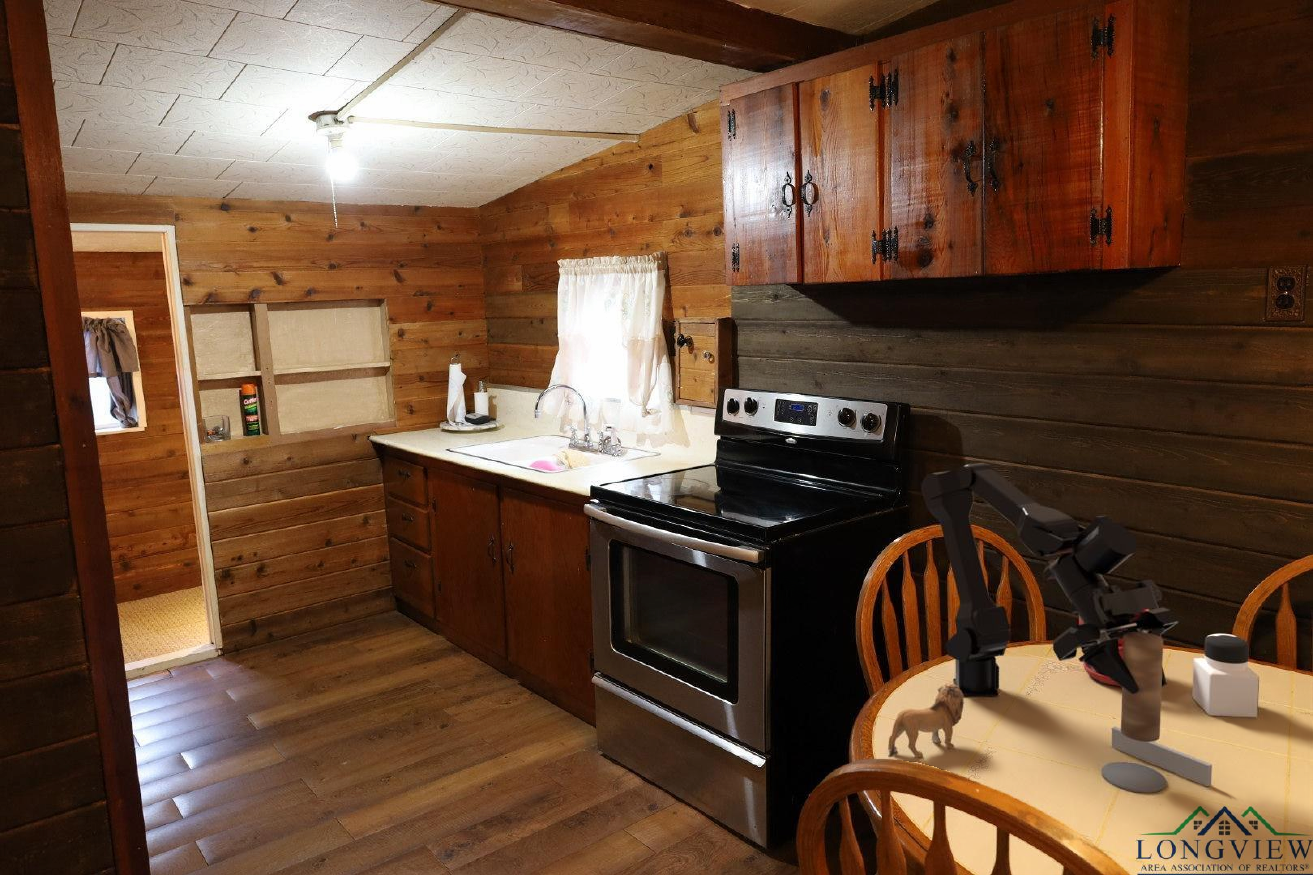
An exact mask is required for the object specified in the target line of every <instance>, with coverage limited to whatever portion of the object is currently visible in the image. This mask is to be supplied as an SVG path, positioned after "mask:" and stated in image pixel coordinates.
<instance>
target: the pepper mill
mask: <svg viewBox="0 0 1313 875" xmlns="http://www.w3.org/2000/svg"><path fill="white" fill-rule="evenodd" d="M1163 656H1164V639H1163V638H1162V636H1161V637H1159V636H1157V635H1154V634H1150V633H1143V632H1130V633H1126V634H1124V645H1123V661H1124V663H1125V664H1126V666H1127V668H1128V670H1129V671H1130V673H1131V675H1132V676H1133V678H1134V680H1135V682H1136V684H1137V686H1138V688H1139V692H1137V693H1136V694H1132V693H1131V692H1129V691H1128V690H1126V689H1125V688H1123V687H1122V686H1121V715H1120V716H1121V717H1120V720H1121V721H1120V729H1121V733H1122V734H1123V735H1125V736H1126V737H1128V738H1130V739H1133V740H1137V741H1143V742H1152V741H1153V742H1156V741H1158V740H1159V739H1160V734H1161V733H1160V732H1161V712H1162V710H1161V709H1162V688H1163V687H1162V667H1163V663H1164V662H1163Z"/></svg>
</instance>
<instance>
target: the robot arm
mask: <svg viewBox="0 0 1313 875" xmlns="http://www.w3.org/2000/svg"><path fill="white" fill-rule="evenodd" d="M920 492H921V495H922V497H923V499H924V500H923V501H924V503H925V505H926V508H927V510H928V511H929V513H930V514H931V515H932V517H934V518H935V519H936V520H937V521H938V522H939V524H940V526H941V530H942V535H943V539H944V544H945V548H946V552H947V556H948V559H949V563H950V567H951V571H952V576H953V579H954V583H955V587H956V591H957V595H958V599H959V606H958V609H957V613H956V616H955V619H954V622H955V628H956V632H955V634H953V635H952V636H951V637H950V638H949V639H948V640H947V641H946V642H945V645H944V646H945V649H946V653H947V656H948V657H950V658H953V659H954V660H955V678H953V679H952V682H953V684H955V685H957V686H959V688H960V690H961V691H962V694H963V697H964V696H965V697H966V696H969V697H970V696H971V697H972V696H973V697H974V696H977V697H978V696H980V697H982V696H983V697H998V696H999V691H998V690H999V689H1000V666H999V664H998V663H997V658H996V657H1003V656H1004V655H1005V653H1006V649H1007V646H1008V644H1009V642H1010V641H1011V631H1010V630H1012V626H1011V624H1010V622H1009V619H1008V615H1007V614H1008V613H1007V610H1006V608H1005V607H1004V606H1003V605H1001V606H998V605H997V604H996V603H995V602H994V601H993V599H992V598H990V595H989V591H988V590H989V589H988V586H987V582H986V578H985V575H984V571H983V567H982V563H981V559H980V556H979V551H978V548H977V544H976V540H975V535H974V532H973V528H972V524H971V521H970V514H971V511H972V508H973V505H974V501H975V500H974V493H975V494H976V495H977V496H978V497H979V498H981V499H982V500H983V501H984V502H986V503H987V504H988V505H989V506H990V507H992V508H993V509H994V510H995V511H996V512H998V514H1000V515H1001V516H1002V517H1004V518H1005V519H1006V520H1007V521H1009V523H1011V524H1012V525H1013V526H1014V527H1015V529H1016V533H1017V537H1018V539H1019V540H1020V541H1021V543H1023V545H1024V546H1025V547H1026V548H1027V549H1028V550H1029V551H1030V553H1031V554H1033V555H1034V556H1037V557H1046V556H1047V557H1048V556H1052V555H1059V554H1061V555H1060V556H1059V557H1058V558H1057V559H1056V560H1055V559H1054V560H1048V561H1045V564H1044V565H1045V568H1044V570H1043V573H1042V579H1043V580H1045V581H1047V580H1054V579H1056V581H1057V582H1058V584H1059V585H1060V588H1061V589H1062V591H1063V592H1064V594H1065V595H1066V597H1067V598H1068V600H1069V602H1070V603H1071V605H1069V606H1068V607H1067V609H1068V612H1069V613H1070V615H1073V614H1078V617H1079V616H1080V618H1081V619H1082V621H1083V623H1084V624H1081V625H1079V624H1078V625H1072V626H1069V627H1068V628H1066V630H1065V631H1063V633H1060V635H1058V636H1057V637H1056V638H1055V639H1053V640H1052V641H1053V642H1052V650H1053V652H1054V654H1055V656H1056V657H1057V659H1058V661H1060V662H1061V661H1062V662H1063V661H1066V660H1071V659H1074V658H1075V657H1077V653H1078V650H1077V649H1081V652H1082V656H1080V657H1078V661H1079V663H1083V662H1086V663H1087V664H1089V665H1091V666H1092V667H1094V668H1096V669H1097V670H1099V671H1100V672H1102V673H1104V674H1105V675H1107V676H1108V677H1109V678H1111V679H1112V680H1114V681H1115V682H1116V683H1118V684H1119V685H1121V686H1120V687H1121V688H1122V687H1123V688H1125V689H1126V690H1128V691H1129V692H1131V693H1132V694H1136V693H1137V692H1139V688H1138V686H1137V684H1136V682H1135V680H1134V678H1133V676H1132V675H1131V673H1130V671H1129V670H1128V668H1127V666H1126V664H1125V663H1124V661H1123V659H1122V657H1121V656H1120V654H1119V646H1118V639H1121V638H1124V634H1126V633H1130V632H1143V633H1150V634H1154V635H1157V636H1159V637H1160V635H1161V636H1162V635H1163V634H1164V633H1166V631H1168V630H1170V629H1171V628H1172V627H1174V626H1176V625H1177V624H1179V620H1178V619H1177V618H1176V616H1175V615H1174V613H1173V612H1172V611H1171V609H1169V608H1166V607H1160V608H1159V604H1158V602H1161V601H1162V599H1163V592H1162V591H1161V590H1160V588H1159V587H1158V585H1157V584H1156V583H1155V582H1154V581H1153V579H1151V578H1150V579H1147V580H1141V581H1137V582H1135V583H1134V588H1133V589H1130V590H1125V591H1122V590H1121V588H1120V587H1119V586H1118V585H1116V584H1110V585H1109V584H1108V583H1107V582H1106V579H1104V577H1103V575H1109V574H1111V572H1112V571H1114V570H1115V569H1116V568H1118V567H1119V566H1120V565H1121V564H1123V563H1124V562H1125V561H1126V560H1127V559H1129V557H1131V556H1132V555H1133V554H1134V553H1135V552H1136V551H1137V548H1138V542H1137V540H1136V538H1135V535H1134V534H1133V533H1132V532H1131V530H1128V529H1126V527H1124V526H1123V525H1122V524H1119V523H1118V522H1114V521H1111V519H1110V517H1109V516H1108V515H1107V514H1106V515H1100V516H1099V515H1098V516H1096V517H1094V518H1093V519H1092V520H1091V522H1089V524H1088V525H1087V526H1086V527H1085V526H1083V525H1080V524H1078V522H1077V521H1076V520H1075V518H1073V517H1072V516H1070V515H1068V514H1066V513H1064V512H1062V511H1060V510H1058V509H1055V508H1051V507H1048V506H1044V505H1041V504H1039V503H1037V502H1035V501H1034V500H1033V499H1032V498H1030V497H1029V496H1027V495H1026V493H1024V492H1022V491H1021V490H1020V489H1018V488H1017V487H1016V486H1014V485H1013V484H1012V483H1010V482H1009V481H1008V480H1007V479H1005V478H1004V477H1002V476H1001V475H1000V474H999V473H997V472H996V471H995V470H994V468H993V466H992V465H991V464H988V463H986V462H978V463H970V464H965V465H963V466H960V467H959V468H957V469H952V470H948V471H939V472H932V473H931V472H930V473H928V474H926V475H925V476H924V479H923V481H922V482H921V484H920ZM1146 609H1148V611H1145V612H1144V610H1146ZM1139 612H1144V613H1142V614H1141V615H1140V616H1138V617H1137V618H1136V619H1134V620H1133V619H1132V618H1135V617H1136V616H1137V615H1139ZM1131 620H1132V621H1131ZM1119 631H1122V632H1119ZM1108 634H1109V635H1108ZM1163 667H1164V666H1162V688H1163V687H1164V686H1166V685H1167V684H1168V683H1167V679H1166V675H1165V670H1164V668H1163Z"/></svg>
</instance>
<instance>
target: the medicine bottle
mask: <svg viewBox="0 0 1313 875" xmlns="http://www.w3.org/2000/svg"><path fill="white" fill-rule="evenodd" d="M1249 651H1250V645H1249V643H1248V641H1247V640H1246V639H1244V638H1241V637H1240V636H1236V635H1233V634H1228V633H1213V634H1210V635H1207V636H1206V637H1205V639H1204V651H1203V652H1204V657H1200V658H1199V657H1194V658H1193V669H1192V670H1193V672H1192V676H1193V677H1192V694H1191V695H1192V696H1191V697H1192V699H1193V700H1194V701H1195V702H1196V703H1197V704H1198V706H1200V707H1201V708H1202V709H1203V711H1205V713H1207V715H1209V716H1212V717H1228V718H1229V717H1232V718H1233V717H1234V718H1235V717H1236V718H1255V719H1256V718H1258V714H1259V691H1260V690H1259V689H1260V676H1259V675H1258V674H1257V673H1256V672H1255V671H1254V670H1252V669H1251V668H1250V667H1249V653H1250V652H1249Z"/></svg>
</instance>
